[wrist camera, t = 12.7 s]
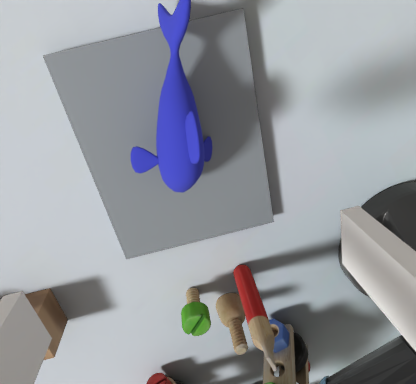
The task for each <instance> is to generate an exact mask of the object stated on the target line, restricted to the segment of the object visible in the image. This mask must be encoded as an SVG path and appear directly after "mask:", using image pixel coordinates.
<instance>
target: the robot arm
mask: <svg viewBox="0 0 416 384" xmlns="http://www.w3.org/2000/svg"><path fill="white" fill-rule="evenodd" d="M340 213H341V240H340V244H339V262H340V266H341V268H342V270H343V272H344V273H345V275H346V276H347V277H348V278H349V280H350V281H351V282H352V283H353V285H354V286H355V287H356V288H357V289H358V290H359V291H361V292H362V293H363V294H365V295H367V296H369V297H371V299H372V300H373V301H374V302H375V303H376V305H377V306H378V307H379V308H380V309H381V311H382V312H383V313H384V314H385V315H386V317H387V318H388V319H389V320H390V321H391V323H392V324H393V325H394V326H395V327H396V329H397V330H398V331H399V332H400V333H401V336H399V337H397V338H395V339H394V340H392V341H390V342H388V343H387V344H385V345H383V346H381V347H380V348H378V349H376V350H375V351H373V352H371V353H369V354H368V355H366V356H364V357H363V358H361V359H359V360H357V361H356V362H354V363H352V364H351V365H349V366H347V367H345V368H344V369H342V370H340V371H338V372H337V373H335V374H333V375H332V376H330V377H329V376H326V377H324V378H323V379H322V380H321V382H320V383H319V384H416V181H415V182H407V183H403V184H399V185H396V186H393V187H391V188H388V189H386V190H384V191H382V192H381V193H379V194H377V195H376V196H374V197H373V198H371V199H370V200H369V201H367V202H366V203H365V204H364V205H363V206H362V207H359V206H356V207H352V208H348V209H344V210H340ZM51 340H52V337H51V336H50V334H49V333H48V331H47V329H46V328H45V326H44V325H43V323H42V321H41V320H40V318H39V317H38V315H37V313H36V312H35V310H34V309H33V307H32V305H31V304H30V302H29V301H28V299H27V298H26V296H25V294H24V293H23V291H21V292H17V293H13V294H9V295H5V296H3V297H2V299H1V300H0V384H34V382H35V380H36V377H37V375H38V372H39V370H40V367H41V365H42V362H43V360H44V357H45V355H46V352H47V350H48V347H49V345H50V342H51Z"/></svg>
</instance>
